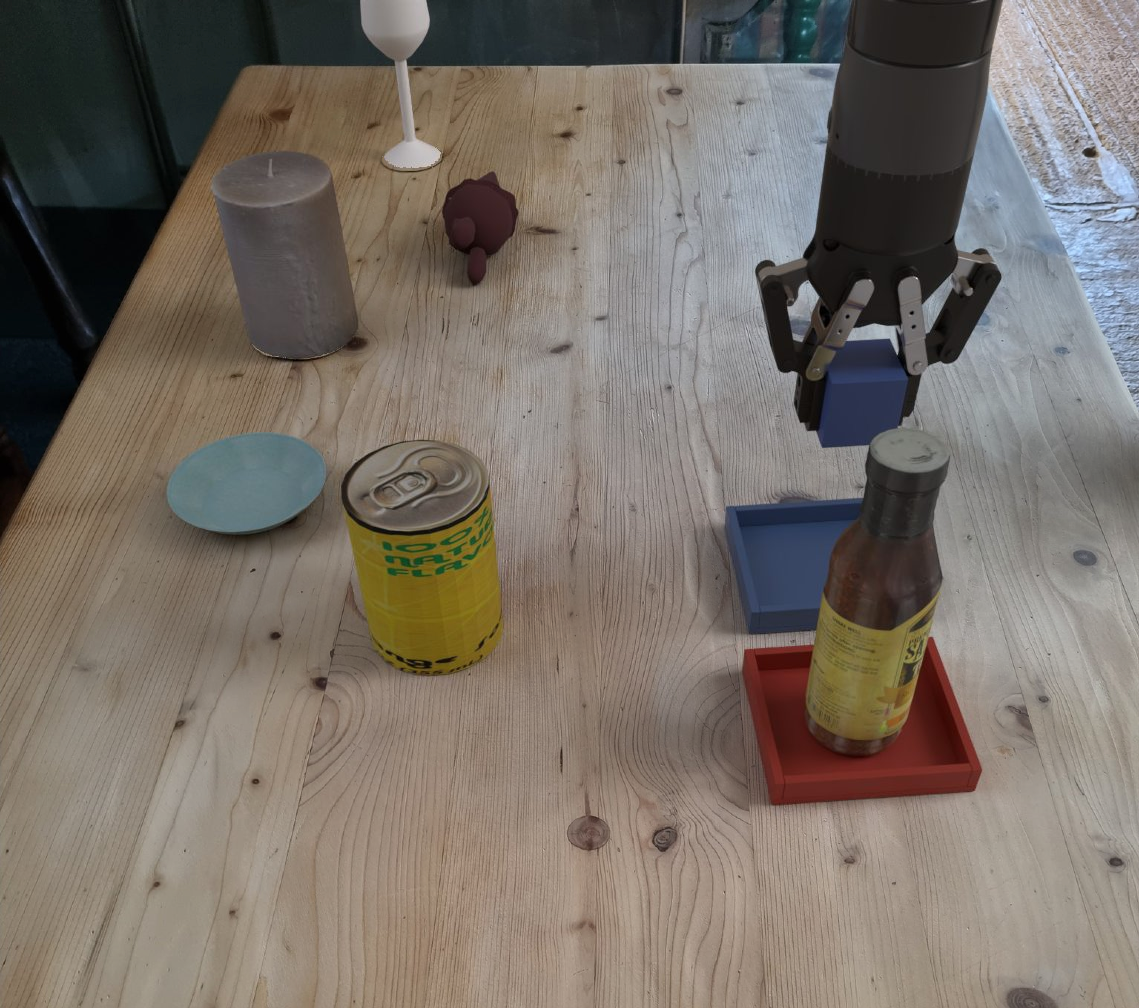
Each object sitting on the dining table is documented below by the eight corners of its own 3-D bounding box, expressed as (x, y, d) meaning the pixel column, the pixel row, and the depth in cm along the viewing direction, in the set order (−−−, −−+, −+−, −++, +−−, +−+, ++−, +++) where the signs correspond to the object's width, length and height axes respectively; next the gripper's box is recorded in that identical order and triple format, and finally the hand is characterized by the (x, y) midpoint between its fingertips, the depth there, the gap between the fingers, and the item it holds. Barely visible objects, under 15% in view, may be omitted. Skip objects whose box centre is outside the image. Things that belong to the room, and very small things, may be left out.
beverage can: (530, 625, 82) (520, 480, 73) (430, 696, 78) (406, 552, 69) (443, 566, 87) (422, 422, 78) (344, 630, 83) (310, 486, 74)
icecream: (444, 146, 117) (413, 235, 108) (516, 129, 114) (490, 218, 106) (469, 213, 122) (441, 303, 113) (539, 198, 120) (515, 288, 111)
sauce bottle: (903, 767, 73) (978, 500, 58) (798, 755, 74) (845, 488, 59) (903, 689, 77) (974, 420, 62) (804, 678, 78) (850, 410, 63)
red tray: (926, 658, 79) (933, 636, 78) (975, 791, 72) (982, 769, 71) (741, 670, 79) (744, 648, 78) (771, 805, 72) (774, 784, 70)
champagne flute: (451, 146, 131) (425, -120, 113) (433, 174, 127) (402, -98, 109) (392, 142, 132) (357, -123, 114) (372, 169, 128) (332, -101, 110)
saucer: (326, 548, 88) (321, 523, 87) (163, 559, 88) (154, 534, 86) (335, 451, 96) (330, 427, 94) (185, 461, 96) (177, 437, 94)
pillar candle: (329, 293, 112) (297, 123, 100) (378, 339, 106) (350, 165, 95) (231, 326, 109) (186, 154, 97) (276, 375, 103) (234, 199, 92)
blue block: (877, 402, 77) (890, 337, 74) (894, 444, 74) (908, 379, 71) (807, 406, 77) (816, 342, 74) (821, 448, 74) (832, 383, 71)
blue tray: (889, 517, 89) (894, 495, 87) (929, 622, 82) (935, 600, 80) (724, 528, 89) (726, 505, 87) (748, 634, 81) (751, 612, 80)
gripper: (776, 176, 60) (746, 464, 73) (1062, 160, 60) (981, 450, 73) (751, 113, 65) (727, 394, 78) (1016, 99, 65) (948, 381, 78)
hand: (851, 420), depth 75 cm, fingers closed on blue block, 4 cm apart
